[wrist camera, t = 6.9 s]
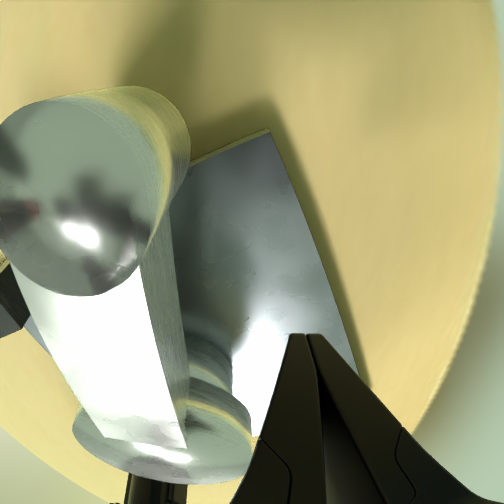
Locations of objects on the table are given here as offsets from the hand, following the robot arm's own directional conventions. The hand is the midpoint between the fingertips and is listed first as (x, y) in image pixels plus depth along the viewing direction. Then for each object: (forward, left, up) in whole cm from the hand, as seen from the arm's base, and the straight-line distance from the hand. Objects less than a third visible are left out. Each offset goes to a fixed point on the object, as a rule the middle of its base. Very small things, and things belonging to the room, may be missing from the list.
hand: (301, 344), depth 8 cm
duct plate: (-8, -4, -7) cm, 11 cm away
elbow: (-7, -1, -4) cm, 8 cm away
